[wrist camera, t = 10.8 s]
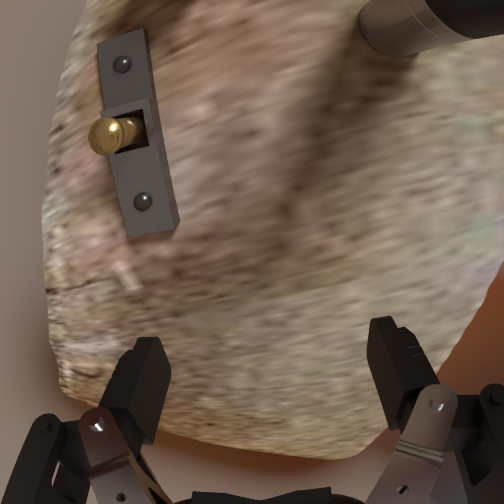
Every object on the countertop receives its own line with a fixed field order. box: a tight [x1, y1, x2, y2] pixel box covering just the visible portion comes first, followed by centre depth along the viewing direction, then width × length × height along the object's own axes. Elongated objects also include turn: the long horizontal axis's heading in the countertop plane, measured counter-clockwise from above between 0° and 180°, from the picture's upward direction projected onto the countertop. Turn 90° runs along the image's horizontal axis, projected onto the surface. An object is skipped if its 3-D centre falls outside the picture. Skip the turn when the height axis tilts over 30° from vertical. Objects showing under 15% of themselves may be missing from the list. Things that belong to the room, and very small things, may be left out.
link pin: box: [89, 117, 147, 155], centre depth 34 cm, size 4×4×10 cm
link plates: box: [97, 28, 180, 236], centre depth 36 cm, size 7×28×4 cm, turn 8°
